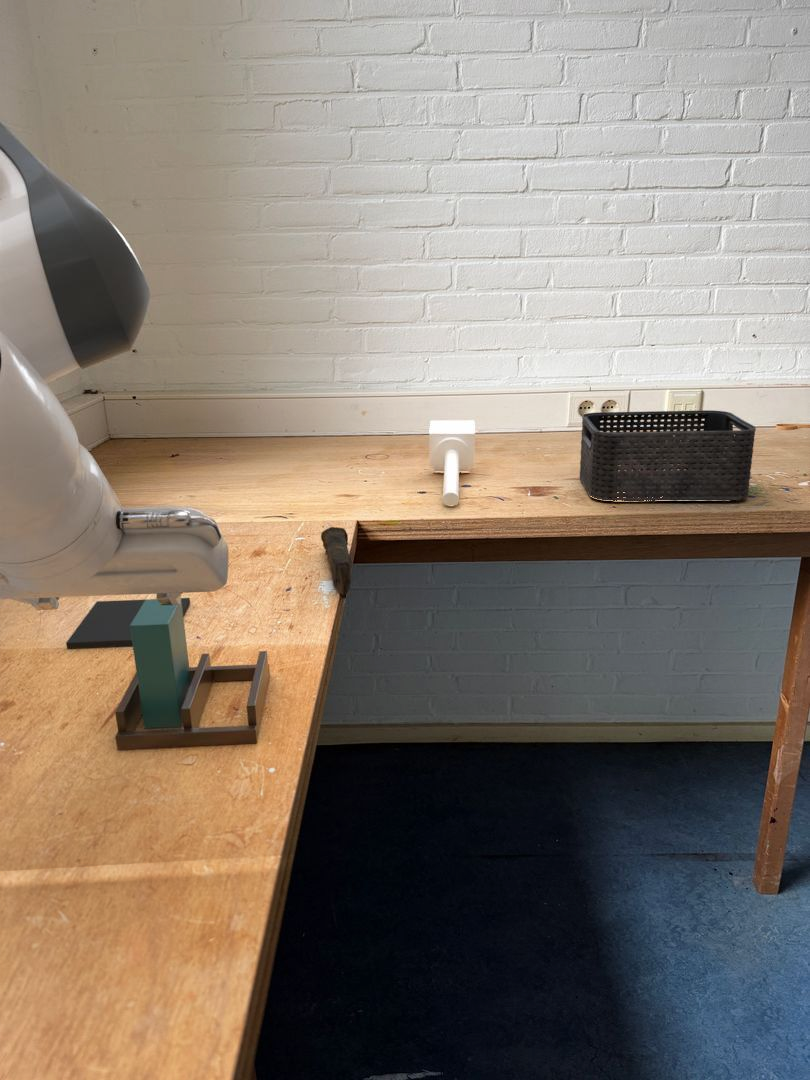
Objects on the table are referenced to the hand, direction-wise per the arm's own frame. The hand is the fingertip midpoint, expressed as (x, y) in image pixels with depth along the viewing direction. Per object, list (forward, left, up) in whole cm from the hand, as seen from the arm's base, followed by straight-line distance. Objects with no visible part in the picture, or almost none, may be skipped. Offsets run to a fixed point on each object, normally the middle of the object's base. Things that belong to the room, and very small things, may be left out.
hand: (111, 598), depth 63 cm
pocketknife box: (0, +12, -17) cm, 21 cm away
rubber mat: (-9, +33, -17) cm, 38 cm away
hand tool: (+17, +48, -18) cm, 54 cm away
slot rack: (+3, +12, -17) cm, 21 cm away
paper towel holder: (+38, +93, -18) cm, 102 cm away
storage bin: (+77, +85, -18) cm, 116 cm away
